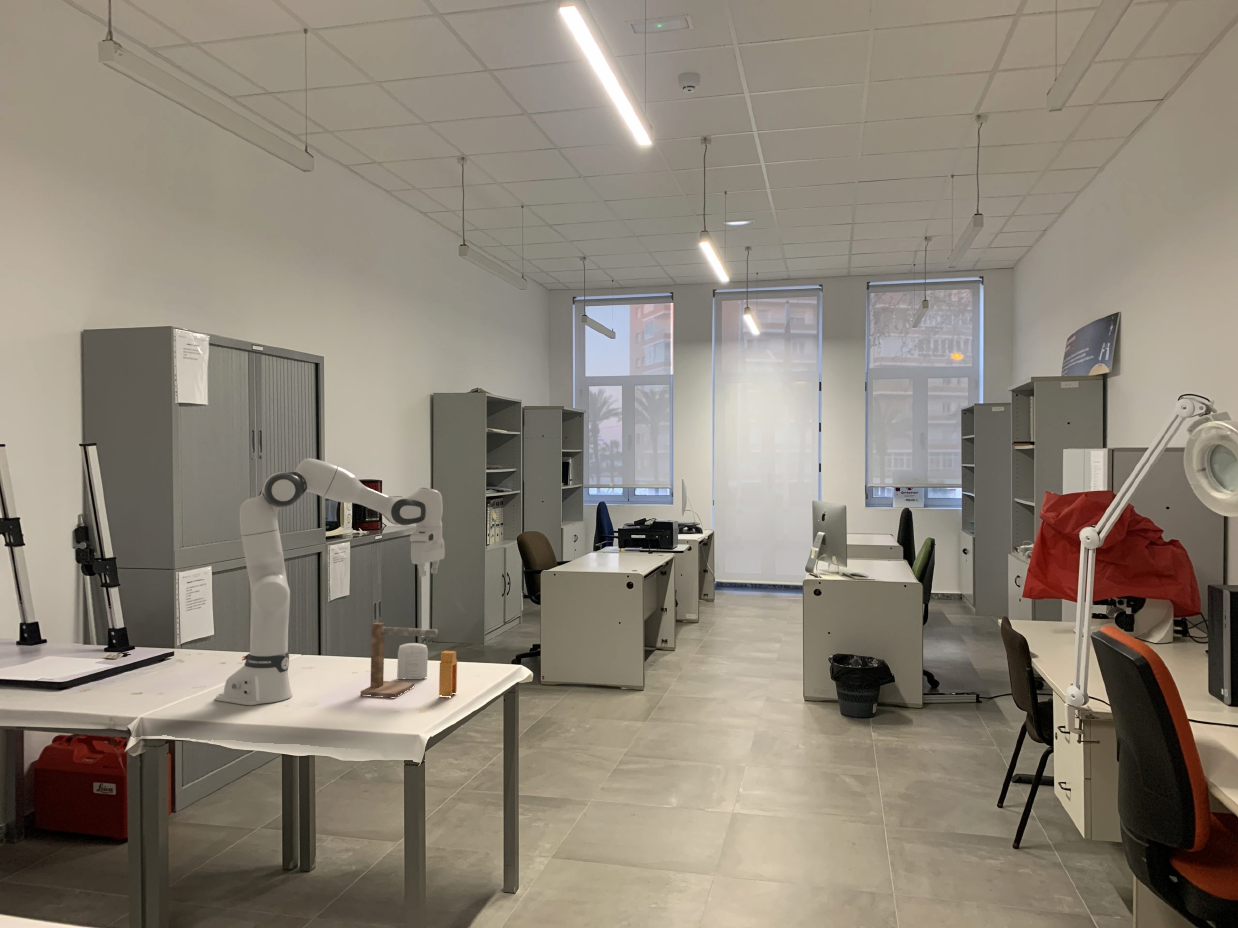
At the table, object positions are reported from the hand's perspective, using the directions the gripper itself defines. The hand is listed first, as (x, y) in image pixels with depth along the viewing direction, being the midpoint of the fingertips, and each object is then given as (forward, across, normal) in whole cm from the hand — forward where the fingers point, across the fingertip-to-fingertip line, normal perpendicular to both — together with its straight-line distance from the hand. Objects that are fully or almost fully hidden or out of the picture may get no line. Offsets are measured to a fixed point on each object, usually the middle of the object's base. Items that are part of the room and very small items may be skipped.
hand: (428, 574), depth 276 cm
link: (+37, +14, +14) cm, 42 cm away
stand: (+37, +14, -2) cm, 40 cm away
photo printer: (+37, -4, -7) cm, 38 cm away
